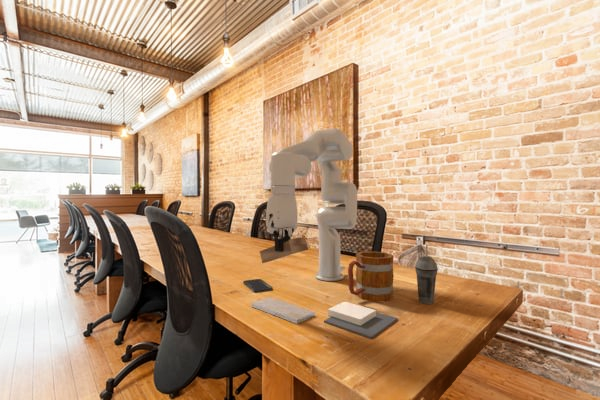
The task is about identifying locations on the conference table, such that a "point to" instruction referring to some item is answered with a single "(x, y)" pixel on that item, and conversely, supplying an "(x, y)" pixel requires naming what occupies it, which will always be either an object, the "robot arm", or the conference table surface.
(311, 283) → the conference table surface
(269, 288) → the phone
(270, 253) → the brown t-shaped post
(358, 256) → the mug
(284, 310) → the tool rest
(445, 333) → the conference table surface
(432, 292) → the beverage cup
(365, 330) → the mat
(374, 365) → the conference table surface
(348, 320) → the tile
